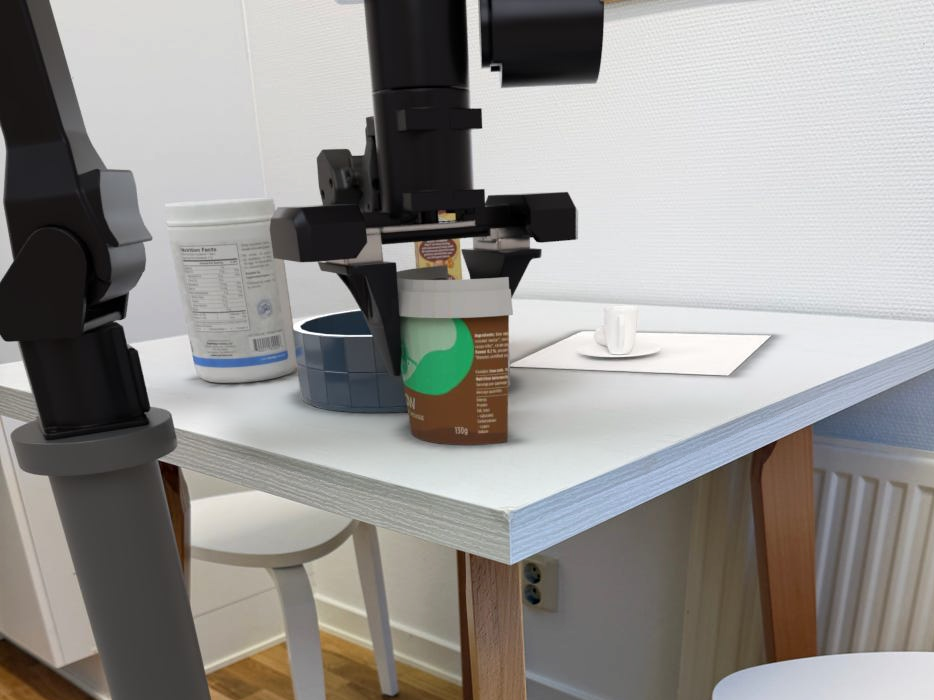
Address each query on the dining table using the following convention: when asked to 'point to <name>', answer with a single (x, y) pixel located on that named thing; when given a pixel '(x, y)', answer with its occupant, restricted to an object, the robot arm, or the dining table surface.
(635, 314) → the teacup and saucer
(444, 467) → the dining table surface
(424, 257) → the candy box
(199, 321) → the supplement tub
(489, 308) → the food container
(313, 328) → the pot
